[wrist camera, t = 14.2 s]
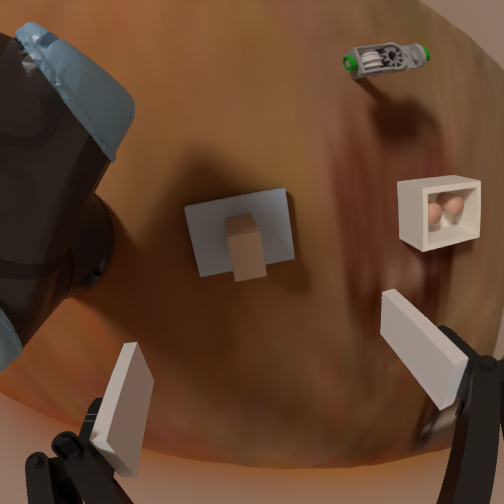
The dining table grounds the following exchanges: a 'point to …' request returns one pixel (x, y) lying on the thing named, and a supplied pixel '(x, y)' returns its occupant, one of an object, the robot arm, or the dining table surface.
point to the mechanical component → (384, 59)
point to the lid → (241, 233)
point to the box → (439, 211)
